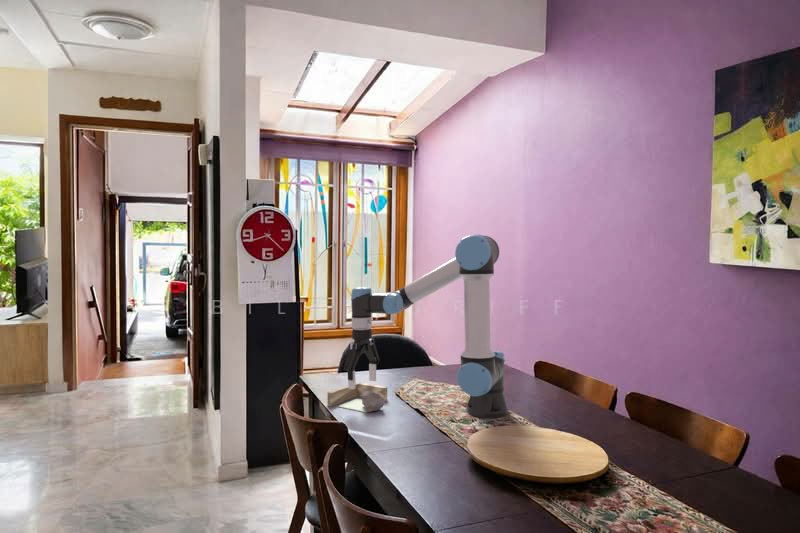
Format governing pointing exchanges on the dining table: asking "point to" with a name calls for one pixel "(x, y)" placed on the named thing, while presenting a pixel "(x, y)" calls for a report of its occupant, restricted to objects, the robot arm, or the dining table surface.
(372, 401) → the stone
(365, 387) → the arena
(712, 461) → the dining table surface
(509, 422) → the dining table surface
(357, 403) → the pad
